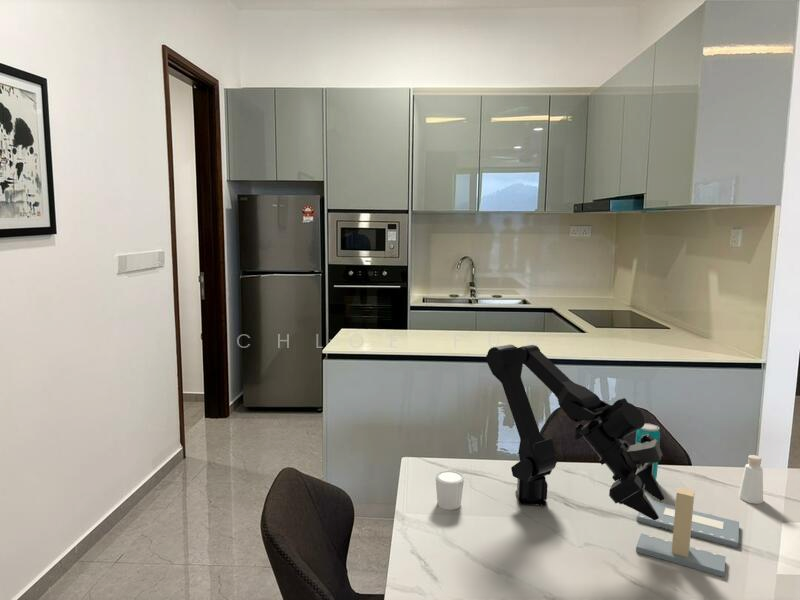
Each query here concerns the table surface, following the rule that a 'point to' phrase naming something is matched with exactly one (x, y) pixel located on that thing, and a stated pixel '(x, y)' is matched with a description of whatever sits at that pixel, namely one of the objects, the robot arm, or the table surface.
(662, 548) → the grey slab with post
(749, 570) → the table surface
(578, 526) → the table surface
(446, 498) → the shot glass
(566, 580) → the table surface
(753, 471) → the pepper shaker
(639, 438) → the beverage can
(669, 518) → the board
